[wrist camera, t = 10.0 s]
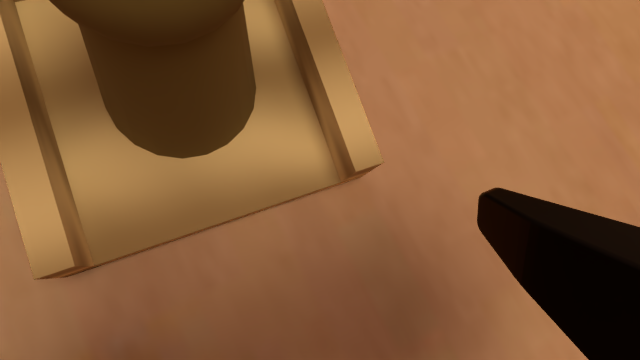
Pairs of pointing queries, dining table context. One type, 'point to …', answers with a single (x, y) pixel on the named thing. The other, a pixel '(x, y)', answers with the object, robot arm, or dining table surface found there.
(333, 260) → the dining table surface
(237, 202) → the oak cradle
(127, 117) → the pepper shaker
